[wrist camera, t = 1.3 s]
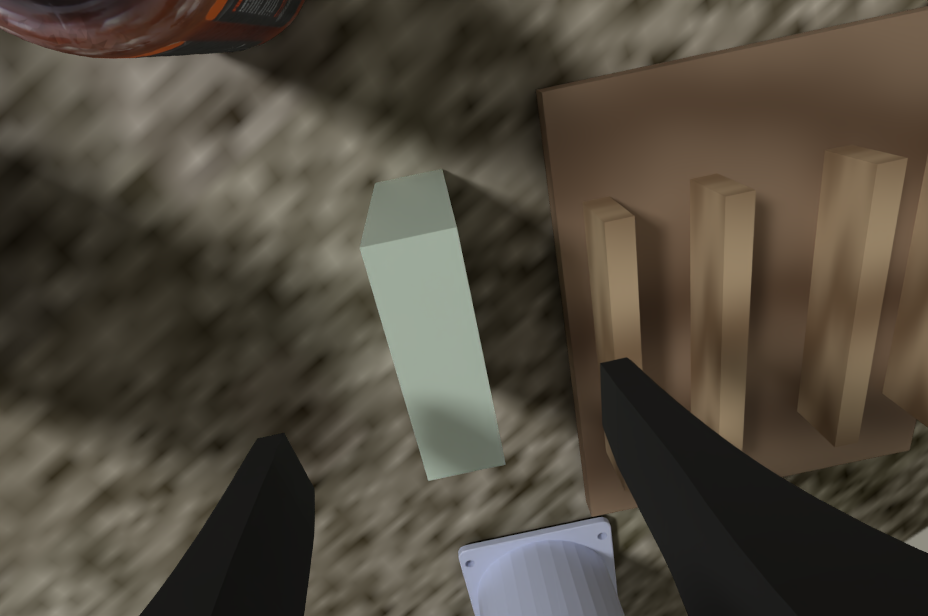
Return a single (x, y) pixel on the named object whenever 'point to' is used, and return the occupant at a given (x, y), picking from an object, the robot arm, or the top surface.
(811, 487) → the top surface
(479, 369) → the pale green block
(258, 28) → the supplement bottle
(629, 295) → the dish rack
